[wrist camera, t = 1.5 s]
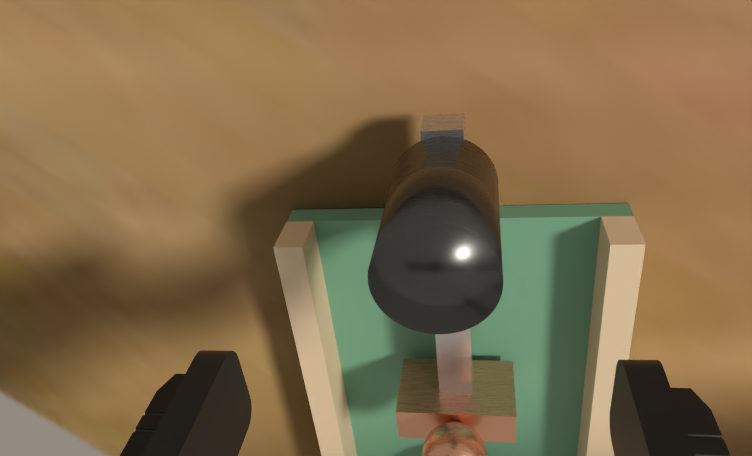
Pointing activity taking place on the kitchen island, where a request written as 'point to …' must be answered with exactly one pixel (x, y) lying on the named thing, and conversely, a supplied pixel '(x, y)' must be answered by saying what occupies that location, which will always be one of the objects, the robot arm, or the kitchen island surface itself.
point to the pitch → (489, 338)
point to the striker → (445, 289)
